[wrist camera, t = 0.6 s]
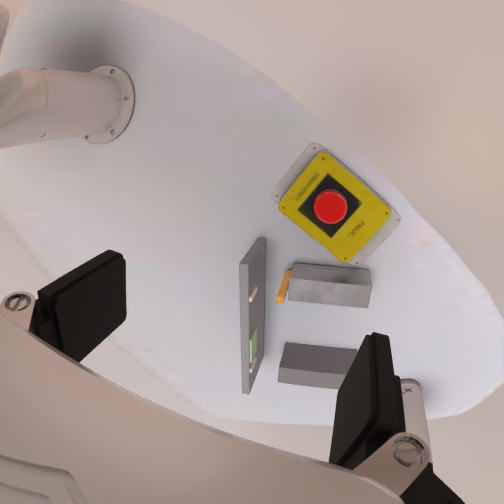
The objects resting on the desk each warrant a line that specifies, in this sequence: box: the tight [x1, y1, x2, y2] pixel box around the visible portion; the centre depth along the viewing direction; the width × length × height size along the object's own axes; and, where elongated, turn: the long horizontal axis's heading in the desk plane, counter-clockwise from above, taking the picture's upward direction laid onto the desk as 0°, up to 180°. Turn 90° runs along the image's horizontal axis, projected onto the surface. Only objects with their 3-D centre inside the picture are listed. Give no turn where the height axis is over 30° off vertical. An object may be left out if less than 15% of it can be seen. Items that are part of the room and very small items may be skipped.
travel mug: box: [400, 379, 433, 472], centre depth 37 cm, size 6×7×20 cm
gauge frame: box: [239, 238, 357, 394], centre depth 40 cm, size 16×20×9 cm
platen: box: [276, 263, 372, 308], centre depth 38 cm, size 11×3×8 cm, turn 90°
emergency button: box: [272, 143, 401, 266], centre depth 37 cm, size 9×4×15 cm
